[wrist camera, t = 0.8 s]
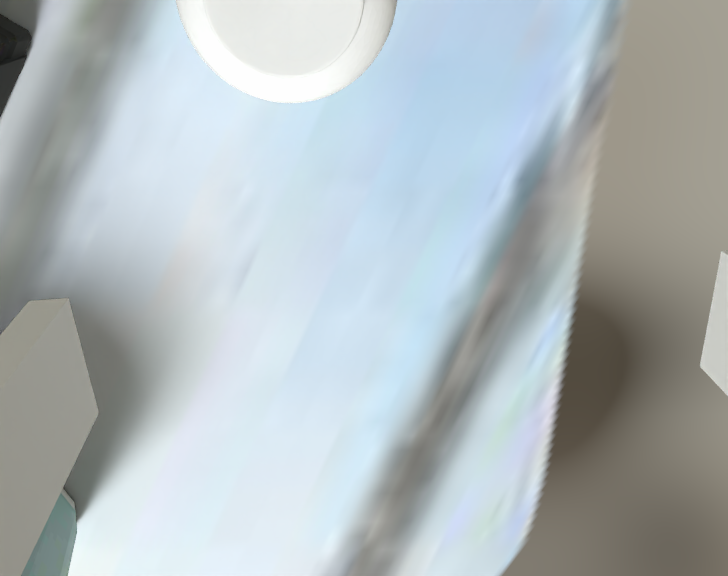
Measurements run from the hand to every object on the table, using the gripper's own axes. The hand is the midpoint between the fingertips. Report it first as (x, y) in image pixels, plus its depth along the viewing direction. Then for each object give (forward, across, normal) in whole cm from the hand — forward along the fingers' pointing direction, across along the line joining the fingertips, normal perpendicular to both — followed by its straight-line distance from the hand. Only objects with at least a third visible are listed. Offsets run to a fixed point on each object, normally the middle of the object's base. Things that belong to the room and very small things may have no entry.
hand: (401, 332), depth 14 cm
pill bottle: (+23, -2, +6) cm, 24 cm away
